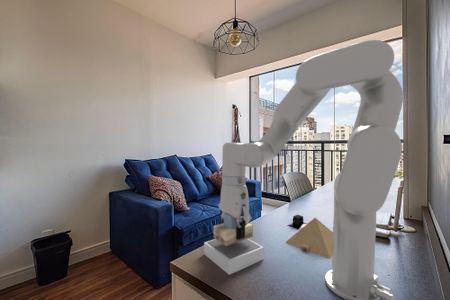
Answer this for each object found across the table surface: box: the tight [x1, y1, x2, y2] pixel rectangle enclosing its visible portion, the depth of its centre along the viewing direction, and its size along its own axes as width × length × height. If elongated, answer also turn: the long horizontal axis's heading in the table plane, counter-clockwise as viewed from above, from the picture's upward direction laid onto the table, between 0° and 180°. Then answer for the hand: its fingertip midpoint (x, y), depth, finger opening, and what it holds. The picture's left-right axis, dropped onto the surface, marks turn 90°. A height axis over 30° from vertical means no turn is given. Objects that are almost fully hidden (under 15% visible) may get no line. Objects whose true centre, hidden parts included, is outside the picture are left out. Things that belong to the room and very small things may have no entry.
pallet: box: [213, 222, 254, 246], centre depth 72 cm, size 7×11×4 cm, turn 126°
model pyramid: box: [284, 217, 333, 259], centre depth 83 cm, size 17×17×10 cm
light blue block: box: [224, 213, 242, 229], centre depth 72 cm, size 4×5×4 cm
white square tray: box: [203, 238, 265, 276], centre depth 73 cm, size 14×14×4 cm
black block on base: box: [286, 214, 308, 230], centre depth 100 cm, size 12×7×5 cm, turn 129°
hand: (233, 233), depth 72 cm, fingers closed on pallet, 6 cm apart
